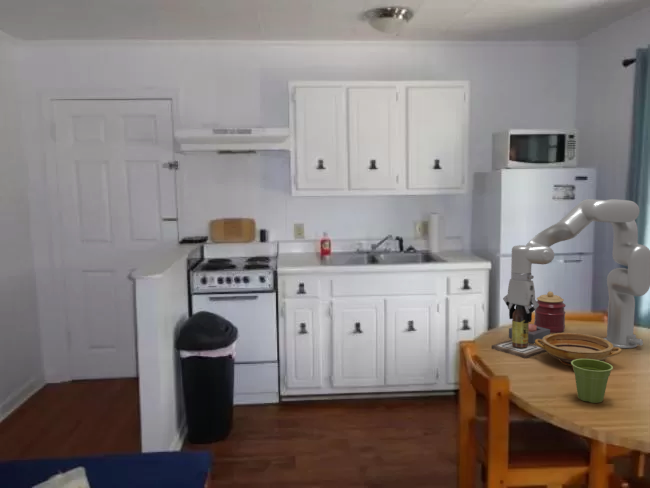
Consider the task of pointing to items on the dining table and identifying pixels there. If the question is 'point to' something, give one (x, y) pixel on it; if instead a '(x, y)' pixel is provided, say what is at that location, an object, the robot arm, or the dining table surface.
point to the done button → (532, 328)
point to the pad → (519, 349)
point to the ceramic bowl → (577, 347)
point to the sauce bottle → (519, 328)
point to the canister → (550, 313)
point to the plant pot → (591, 379)
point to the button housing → (534, 334)
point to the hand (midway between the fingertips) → (520, 320)
